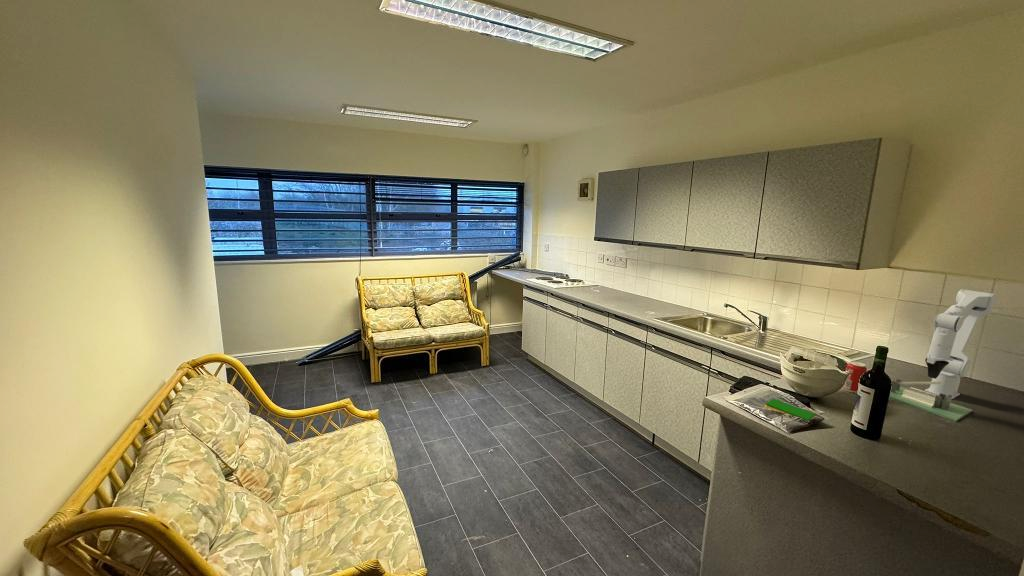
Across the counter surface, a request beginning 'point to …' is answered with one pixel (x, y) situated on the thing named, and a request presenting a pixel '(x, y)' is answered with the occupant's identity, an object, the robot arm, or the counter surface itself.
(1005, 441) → the counter surface
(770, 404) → the dish sponge
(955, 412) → the heatsink board
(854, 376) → the beverage can
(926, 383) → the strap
